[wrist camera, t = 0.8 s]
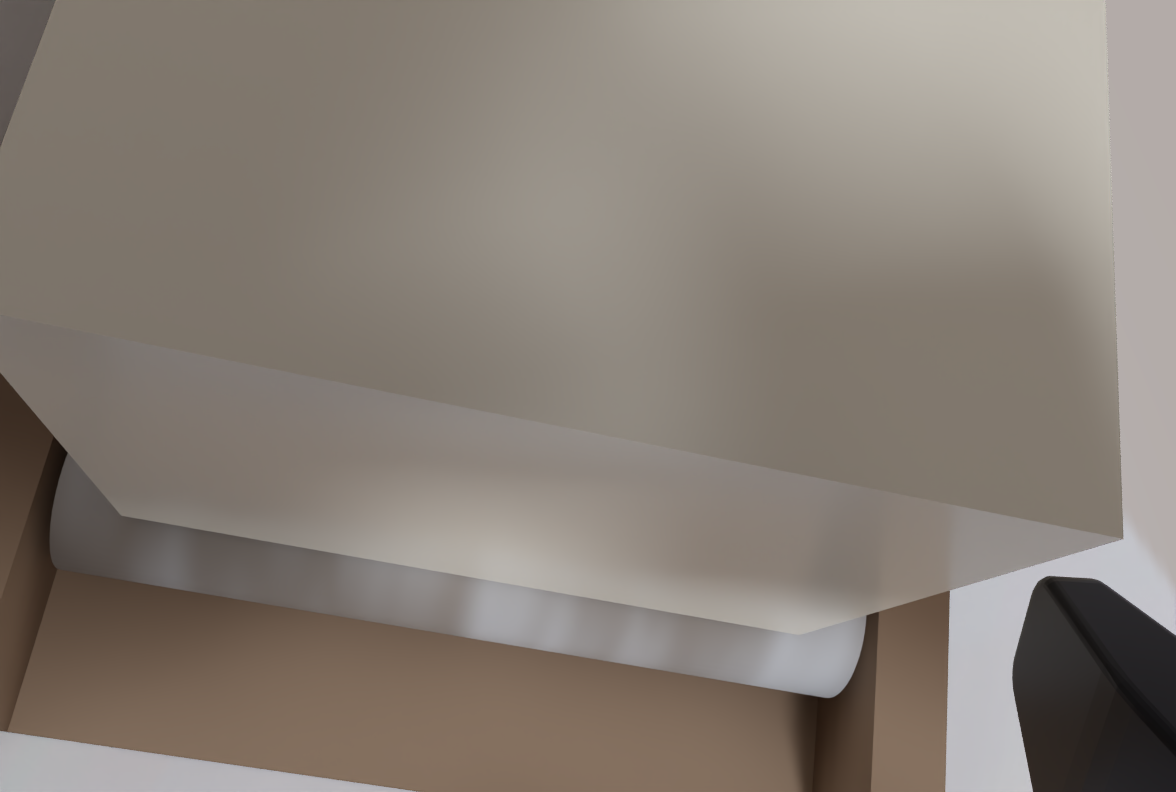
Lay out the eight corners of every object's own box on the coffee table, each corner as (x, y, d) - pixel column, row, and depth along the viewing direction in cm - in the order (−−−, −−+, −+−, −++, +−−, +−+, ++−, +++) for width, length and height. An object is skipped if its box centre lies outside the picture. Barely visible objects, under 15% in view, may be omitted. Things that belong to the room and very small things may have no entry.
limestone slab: (798, 635, 17) (1123, 537, 10) (121, 515, 15) (-60, 302, 8) (837, 88, 20) (1096, -267, 13) (287, -53, 19) (258, -537, 12)
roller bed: (855, 854, 19) (1042, 883, 14) (-61, 721, 17) (-234, 699, 12) (901, -88, 26) (1035, -293, 21) (265, -270, 24) (246, -548, 19)
